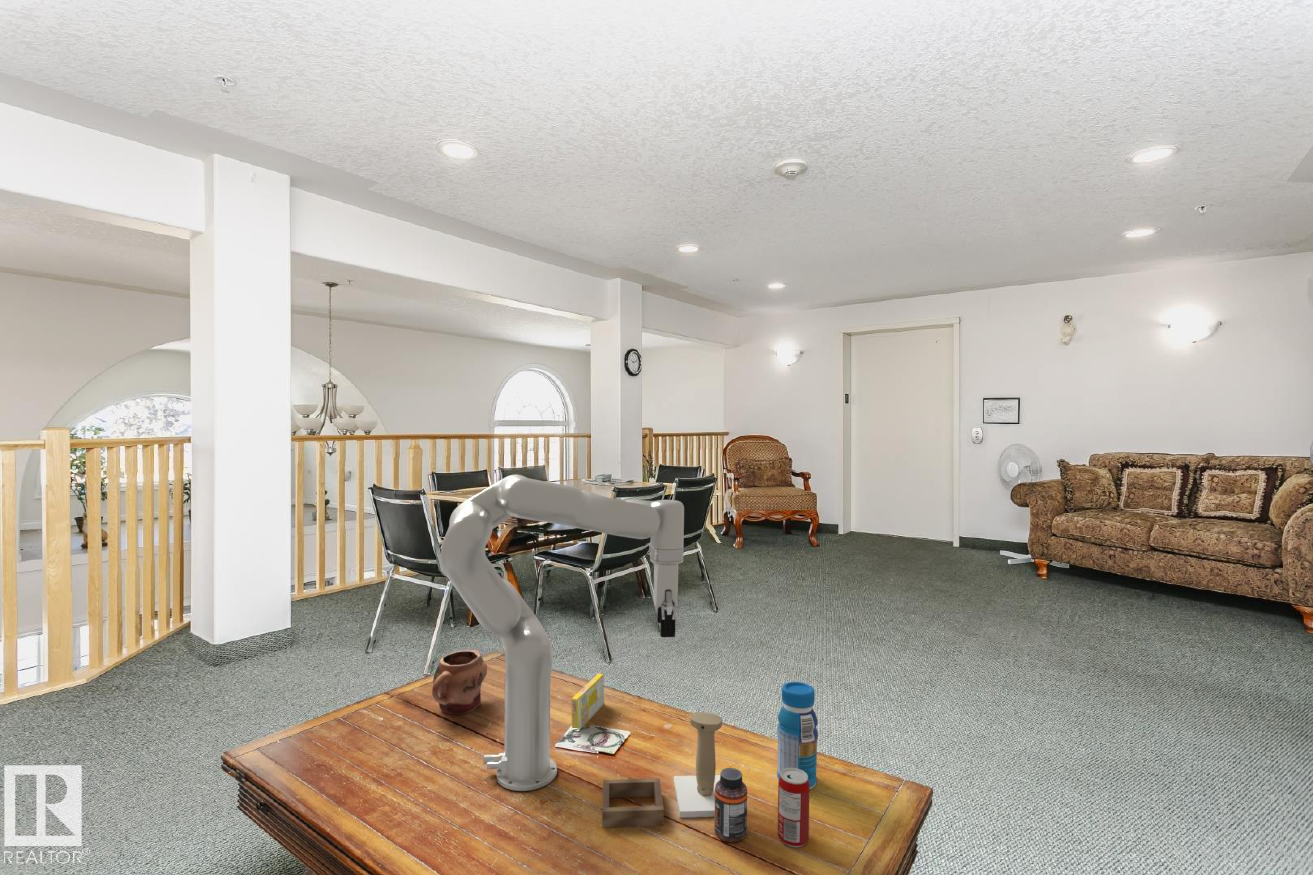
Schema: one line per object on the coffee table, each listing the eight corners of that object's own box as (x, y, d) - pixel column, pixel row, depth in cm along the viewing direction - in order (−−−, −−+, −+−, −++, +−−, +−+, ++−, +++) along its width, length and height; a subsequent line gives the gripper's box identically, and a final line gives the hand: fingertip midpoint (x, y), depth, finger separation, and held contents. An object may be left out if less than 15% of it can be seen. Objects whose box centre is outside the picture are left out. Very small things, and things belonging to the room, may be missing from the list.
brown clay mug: (459, 731, 152) (459, 674, 152) (414, 725, 155) (414, 669, 154) (497, 696, 172) (497, 645, 171) (456, 691, 174) (456, 642, 174)
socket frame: (602, 827, 117) (602, 811, 117) (603, 794, 127) (603, 779, 127) (663, 825, 118) (663, 809, 118) (659, 792, 128) (659, 778, 128)
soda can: (804, 828, 117) (805, 765, 117) (812, 848, 112) (813, 781, 111) (774, 828, 117) (775, 765, 117) (781, 848, 112) (782, 782, 111)
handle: (717, 802, 123) (718, 726, 123) (686, 794, 125) (687, 720, 125) (724, 788, 127) (724, 715, 127) (694, 781, 130) (694, 710, 130)
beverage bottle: (773, 787, 130) (774, 692, 130) (779, 766, 138) (781, 676, 138) (814, 796, 127) (816, 698, 127) (819, 774, 135) (820, 682, 135)
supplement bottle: (711, 823, 118) (712, 764, 118) (742, 822, 119) (743, 763, 119) (717, 844, 112) (718, 782, 112) (750, 843, 113) (751, 781, 113)
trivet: (679, 817, 120) (679, 811, 120) (673, 781, 132) (673, 776, 132) (741, 815, 121) (741, 809, 121) (730, 780, 133) (730, 774, 133)
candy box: (597, 703, 169) (597, 672, 168) (604, 704, 168) (605, 673, 168) (570, 731, 153) (570, 697, 153) (578, 732, 153) (578, 698, 152)
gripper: (648, 547, 151) (647, 617, 152) (652, 563, 134) (651, 642, 134) (679, 547, 152) (678, 617, 152) (687, 563, 134) (686, 642, 135)
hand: (665, 629), depth 143 cm, fingers open, 9 cm apart
